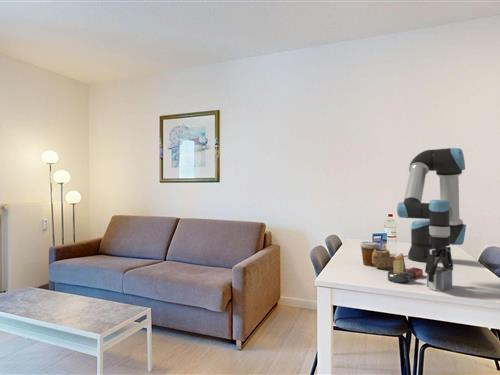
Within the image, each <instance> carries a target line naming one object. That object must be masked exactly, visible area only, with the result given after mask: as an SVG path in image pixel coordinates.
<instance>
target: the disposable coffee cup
mask: <svg viewBox="0 0 500 375" xmlns="http://www.w3.org/2000/svg"><path fill="white" fill-rule="evenodd" d="M360 247H361V250H360V251H361V256H362V263H363V265H364V266H367V267H375V266H374V265H373V263H372V253H373V251H374V249H378V248H379V244H378V243H377V242H375V241H361V242H360Z"/></svg>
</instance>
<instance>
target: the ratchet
mask: <svg viewBox="0 0 500 375" xmlns="http://www.w3.org/2000/svg"><path fill="white" fill-rule="evenodd" d="M392 269H393V270H392V271H388V272H387V281H389V282H391V283H394V284H401V285H402V284H403V285H404V284H405V285H406V284H409V283H410V280H413V279H418V278H420V277H423V274H424V270H423V268H422V269H421V268H418V267H415V266H414V267H410V268H407V269H406V270H405V271H404V270H403V261H400V260H395V261H393V268H392Z"/></svg>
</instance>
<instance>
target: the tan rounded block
mask: <svg viewBox="0 0 500 375" xmlns="http://www.w3.org/2000/svg"><path fill="white" fill-rule="evenodd" d="M404 256H405V255H404V254H403V252H402V253H401V252H400V253H399V254H398V255H397V256H395V255H391V254H390V250H389V249H386V248H379V247H378V249H374V251H373V253H372V263H373V265H374V266H373V267H376V268H378V269H381V270H385V269H388V268H389V269H393V261H395V260H400V261H403V271H404V270H405V271H406V262H405V258H404Z"/></svg>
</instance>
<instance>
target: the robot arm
mask: <svg viewBox="0 0 500 375" xmlns="http://www.w3.org/2000/svg"><path fill="white" fill-rule="evenodd" d="M408 166H409V167H408V171H409V172H408V173H409V176H408V180H407V186H406V191H405V192H404V193H405V194H404V199H403V201H401V202H398V203H397V206H396V215H397V216H398V218H404V219H419V220H414V221H412V222H411V225H410V226H411V227H410V235H411V237H410V238H411V240H410V242H411V243H410V247H409V250H408V254H407V258H408V259H409V260H411V261H414V262H419V263H426V264H425V270H424V272H425V273H426V274H427V273H428V274H429V287H428V290H431V291H437V289H436V275H435V272H436V268H437V266H439V265H438V264H439V262H440V261H441V264H442V267H444V268H449V269H452V271H453V270H454V263H453V258H452V252H451V250H452V248H451V245H452V246H455V245H457V246H461V245H463V244H464V241H465V235H466V228H467V224H465V223H464V222H463V219H461V218H460V188H459V187H460V186H459V182H460V181H459V176H461V175H462V174H463V171H464V170H466V162H465V157H464V151H463V149H461V148H459V147H458V148H457V147H450V148H437V149H435V148H434V149H425V150H424V151H421V152H419V153H418V154H417V155H416V156H415V157H413V159H412V160H411V161H410V163H409V165H408ZM430 171H431V172H435V174H436V176H438V178H439V193H440V194H439V199H431V200H429V202H422V199H423V194H424V188H425V182H426V177H427V175H428V173H429V172H430Z"/></svg>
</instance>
